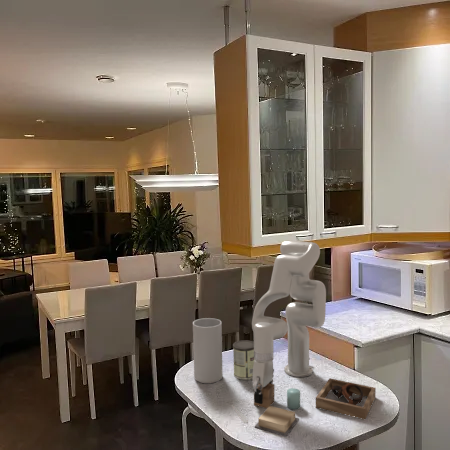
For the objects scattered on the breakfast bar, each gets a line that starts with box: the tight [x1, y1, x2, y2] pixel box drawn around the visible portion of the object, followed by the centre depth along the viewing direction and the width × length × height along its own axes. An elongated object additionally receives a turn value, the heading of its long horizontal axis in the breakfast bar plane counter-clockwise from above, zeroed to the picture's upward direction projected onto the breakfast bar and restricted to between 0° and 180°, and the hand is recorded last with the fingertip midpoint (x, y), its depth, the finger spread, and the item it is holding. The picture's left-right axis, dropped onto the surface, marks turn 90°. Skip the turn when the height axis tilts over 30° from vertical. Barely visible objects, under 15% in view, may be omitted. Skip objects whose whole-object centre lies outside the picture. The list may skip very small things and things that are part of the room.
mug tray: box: [315, 377, 377, 420], centre depth 172 cm, size 18×18×4 cm
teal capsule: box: [286, 387, 301, 411], centre depth 170 cm, size 5×5×6 cm
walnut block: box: [253, 383, 275, 409], centre depth 173 cm, size 6×6×7 cm
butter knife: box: [231, 405, 249, 424], centre depth 172 cm, size 1×27×3 cm
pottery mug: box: [331, 382, 364, 406], centre depth 173 cm, size 12×10×8 cm
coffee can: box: [232, 339, 254, 381], centre depth 197 cm, size 10×10×14 cm
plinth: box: [254, 405, 300, 437], centre depth 158 cm, size 12×12×3 cm
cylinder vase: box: [192, 317, 224, 384], centre depth 195 cm, size 12×12×25 cm
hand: (263, 397), depth 172 cm, fingers open, 9 cm apart
